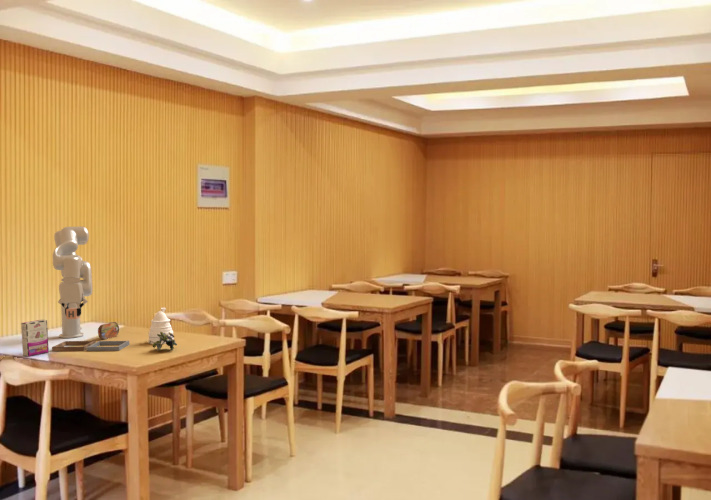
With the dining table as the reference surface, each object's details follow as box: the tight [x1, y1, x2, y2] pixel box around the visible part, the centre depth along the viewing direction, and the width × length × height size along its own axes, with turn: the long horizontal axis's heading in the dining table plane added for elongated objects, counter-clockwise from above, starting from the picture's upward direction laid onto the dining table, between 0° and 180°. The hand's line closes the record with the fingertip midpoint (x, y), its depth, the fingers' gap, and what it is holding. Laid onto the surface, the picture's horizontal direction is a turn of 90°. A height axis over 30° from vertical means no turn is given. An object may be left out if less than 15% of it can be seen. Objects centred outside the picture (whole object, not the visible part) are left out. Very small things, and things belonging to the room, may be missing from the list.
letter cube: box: [66, 308, 81, 319], centre depth 349 cm, size 5×5×5 cm
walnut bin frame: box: [51, 340, 97, 352], centre depth 349 cm, size 16×16×2 cm
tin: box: [97, 321, 120, 340], centre depth 376 cm, size 15×3×8 cm, turn 161°
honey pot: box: [148, 307, 175, 345], centre depth 362 cm, size 13×13×18 cm
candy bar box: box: [20, 319, 50, 357], centre depth 334 cm, size 11×5×16 cm, turn 148°
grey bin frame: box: [86, 340, 130, 352], centre depth 349 cm, size 16×16×2 cm
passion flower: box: [148, 332, 178, 352], centre depth 340 cm, size 11×11×12 cm
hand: (73, 315), depth 349 cm, fingers closed on letter cube, 5 cm apart
